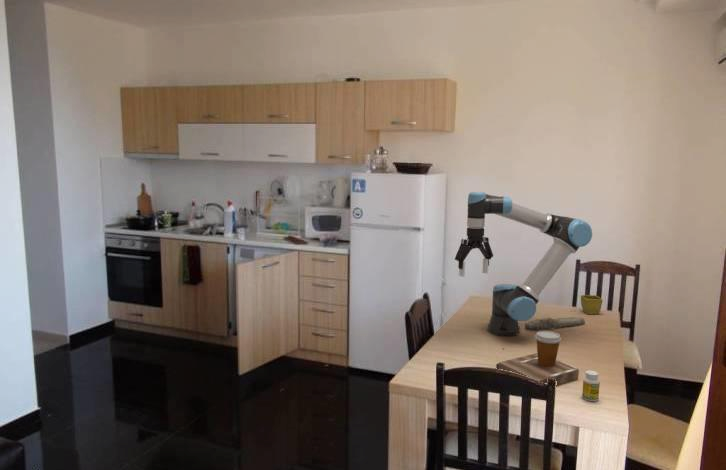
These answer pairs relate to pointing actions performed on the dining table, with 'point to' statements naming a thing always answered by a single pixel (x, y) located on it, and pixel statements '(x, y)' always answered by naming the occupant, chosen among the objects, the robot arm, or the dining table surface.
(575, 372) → the dock
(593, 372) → the supplement bottle
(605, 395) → the dining table surface
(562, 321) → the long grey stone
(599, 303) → the flower pot
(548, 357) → the disposable coffee cup
